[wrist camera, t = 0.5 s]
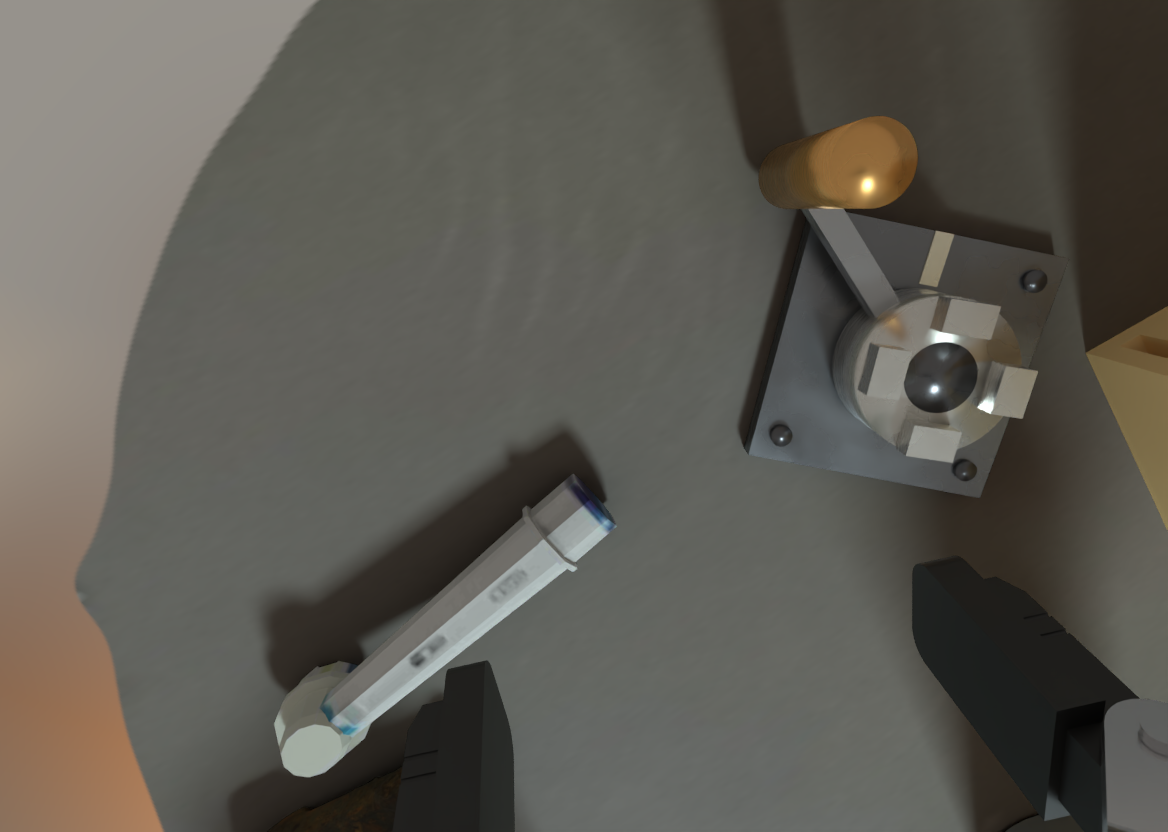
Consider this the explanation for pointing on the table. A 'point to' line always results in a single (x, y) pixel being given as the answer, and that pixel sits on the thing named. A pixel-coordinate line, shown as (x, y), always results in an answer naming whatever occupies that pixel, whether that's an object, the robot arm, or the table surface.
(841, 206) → the crank handle
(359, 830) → the hand tool
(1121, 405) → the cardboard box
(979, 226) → the table surface
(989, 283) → the hub plate
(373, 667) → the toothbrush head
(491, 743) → the robot arm
